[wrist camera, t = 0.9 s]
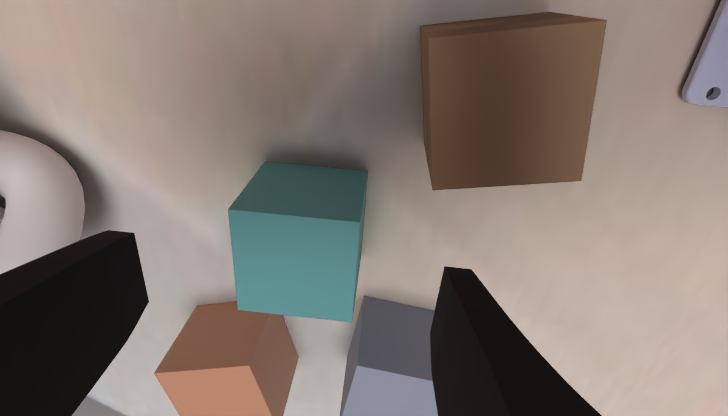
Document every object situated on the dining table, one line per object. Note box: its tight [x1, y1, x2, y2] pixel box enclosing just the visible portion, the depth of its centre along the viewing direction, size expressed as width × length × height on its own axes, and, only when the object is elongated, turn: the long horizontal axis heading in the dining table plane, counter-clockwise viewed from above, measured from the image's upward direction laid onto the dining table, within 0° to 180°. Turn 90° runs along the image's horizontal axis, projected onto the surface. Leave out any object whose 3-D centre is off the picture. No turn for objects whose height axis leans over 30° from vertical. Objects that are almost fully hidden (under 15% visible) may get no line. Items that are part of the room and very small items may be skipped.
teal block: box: [228, 161, 368, 322], centre depth 19 cm, size 5×5×5 cm
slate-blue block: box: [340, 296, 438, 416], centre depth 22 cm, size 5×5×5 cm
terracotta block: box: [154, 301, 298, 416], centre depth 23 cm, size 5×5×5 cm
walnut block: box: [420, 12, 607, 190], centre depth 15 cm, size 5×5×5 cm
